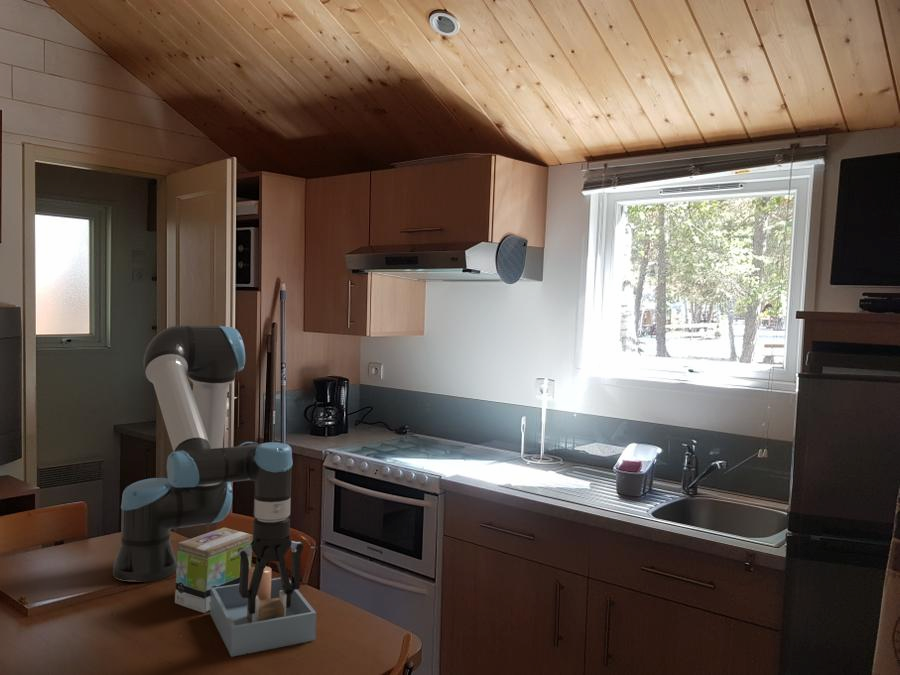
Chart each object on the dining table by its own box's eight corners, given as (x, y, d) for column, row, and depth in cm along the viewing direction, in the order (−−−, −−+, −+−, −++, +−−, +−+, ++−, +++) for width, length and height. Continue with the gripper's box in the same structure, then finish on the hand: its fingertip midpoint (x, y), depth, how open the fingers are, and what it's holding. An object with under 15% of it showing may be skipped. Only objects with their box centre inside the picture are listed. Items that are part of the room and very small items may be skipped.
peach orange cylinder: (244, 615, 164) (245, 567, 163) (266, 612, 166) (268, 564, 166) (250, 625, 160) (251, 575, 159) (272, 621, 162) (274, 572, 161)
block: (259, 634, 152) (260, 610, 152) (254, 624, 157) (254, 601, 157) (283, 629, 155) (284, 606, 154) (277, 620, 159) (278, 597, 159)
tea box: (205, 614, 166) (207, 550, 165) (173, 604, 171) (175, 542, 170) (252, 592, 179) (253, 532, 179) (221, 583, 184) (222, 525, 183)
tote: (210, 613, 166) (210, 587, 166) (286, 601, 175) (286, 576, 175) (231, 656, 148) (232, 627, 147) (315, 640, 156) (316, 612, 156)
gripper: (232, 527, 147) (229, 640, 148) (319, 517, 156) (315, 624, 157) (224, 516, 153) (221, 625, 155) (307, 508, 162) (304, 610, 163)
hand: (268, 624), depth 156 cm, fingers closed on block, 5 cm apart
